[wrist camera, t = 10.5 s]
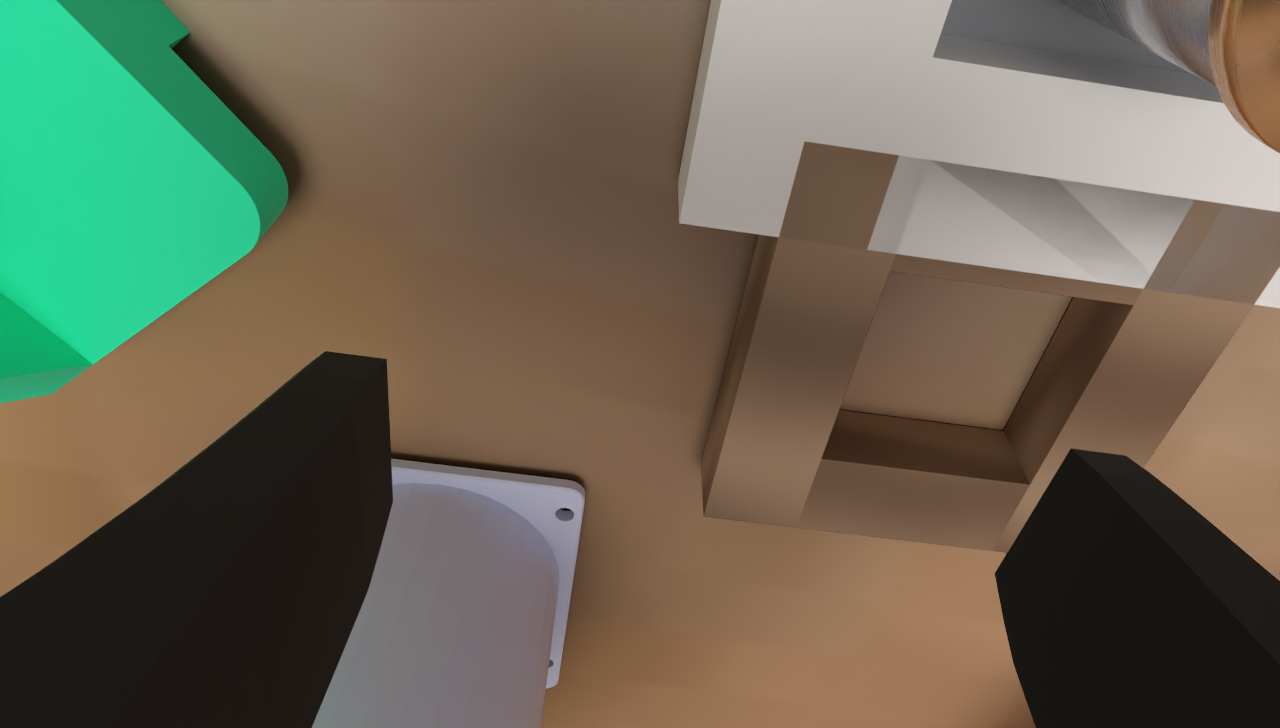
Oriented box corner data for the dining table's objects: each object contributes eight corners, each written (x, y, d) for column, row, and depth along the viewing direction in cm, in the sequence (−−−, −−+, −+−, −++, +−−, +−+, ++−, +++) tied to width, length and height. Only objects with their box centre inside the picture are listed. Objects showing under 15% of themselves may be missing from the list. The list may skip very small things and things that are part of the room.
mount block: (1051, 505, 24) (1080, 561, 22) (701, 462, 23) (703, 516, 21) (1254, 175, 18) (1313, 217, 16) (791, 104, 17) (804, 141, 16)
